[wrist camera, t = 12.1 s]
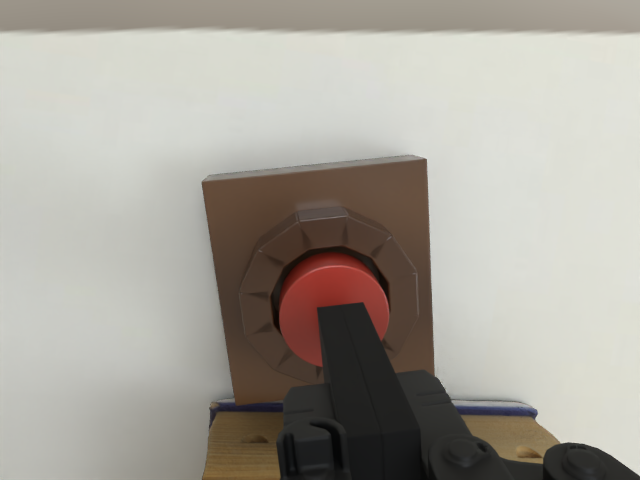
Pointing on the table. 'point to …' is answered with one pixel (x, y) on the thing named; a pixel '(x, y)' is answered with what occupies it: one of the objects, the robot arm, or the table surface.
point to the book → (267, 422)
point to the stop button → (326, 299)
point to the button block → (310, 239)
